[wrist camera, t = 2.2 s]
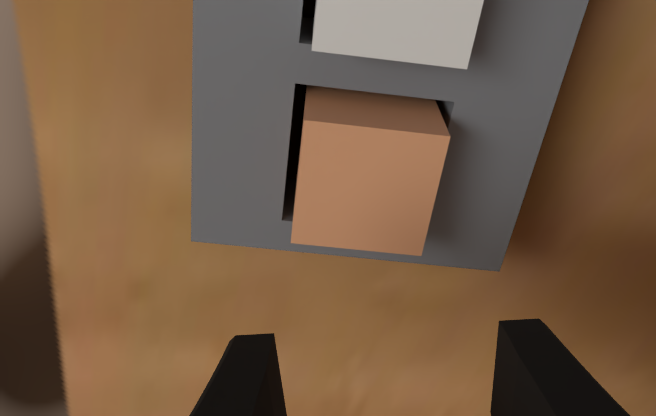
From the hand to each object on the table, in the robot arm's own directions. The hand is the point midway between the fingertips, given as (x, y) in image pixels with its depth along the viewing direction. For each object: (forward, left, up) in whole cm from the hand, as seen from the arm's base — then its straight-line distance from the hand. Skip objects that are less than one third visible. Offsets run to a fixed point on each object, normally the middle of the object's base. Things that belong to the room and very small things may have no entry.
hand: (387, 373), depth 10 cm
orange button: (0, 0, -8) cm, 8 cm away
